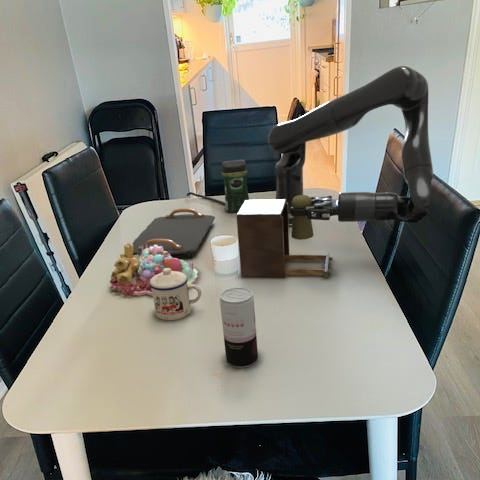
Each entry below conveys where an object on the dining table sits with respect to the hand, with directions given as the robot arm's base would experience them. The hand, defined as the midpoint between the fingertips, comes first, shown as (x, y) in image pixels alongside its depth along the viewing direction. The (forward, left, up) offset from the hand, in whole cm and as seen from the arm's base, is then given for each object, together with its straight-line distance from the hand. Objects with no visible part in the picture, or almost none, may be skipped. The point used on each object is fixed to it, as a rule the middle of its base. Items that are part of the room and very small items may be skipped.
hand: (292, 208), depth 133 cm
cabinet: (-3, -7, -17) cm, 19 cm away
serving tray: (-42, -23, -17) cm, 51 cm away
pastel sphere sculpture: (-14, -37, -17) cm, 43 cm away
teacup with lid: (+9, -37, -17) cm, 42 cm away
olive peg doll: (+1, +2, -8) cm, 8 cm away
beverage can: (+36, -32, -17) cm, 51 cm away
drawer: (+3, +2, -17) cm, 17 cm away
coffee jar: (-60, +9, -17) cm, 63 cm away
